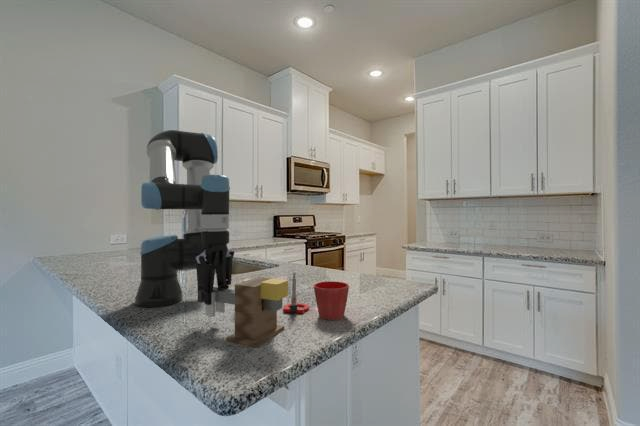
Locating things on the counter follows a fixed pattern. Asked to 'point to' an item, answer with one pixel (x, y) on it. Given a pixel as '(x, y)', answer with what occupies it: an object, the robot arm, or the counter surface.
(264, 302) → the shaft
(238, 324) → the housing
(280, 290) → the block
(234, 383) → the counter surface
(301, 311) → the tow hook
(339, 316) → the flower pot
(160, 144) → the robot arm
